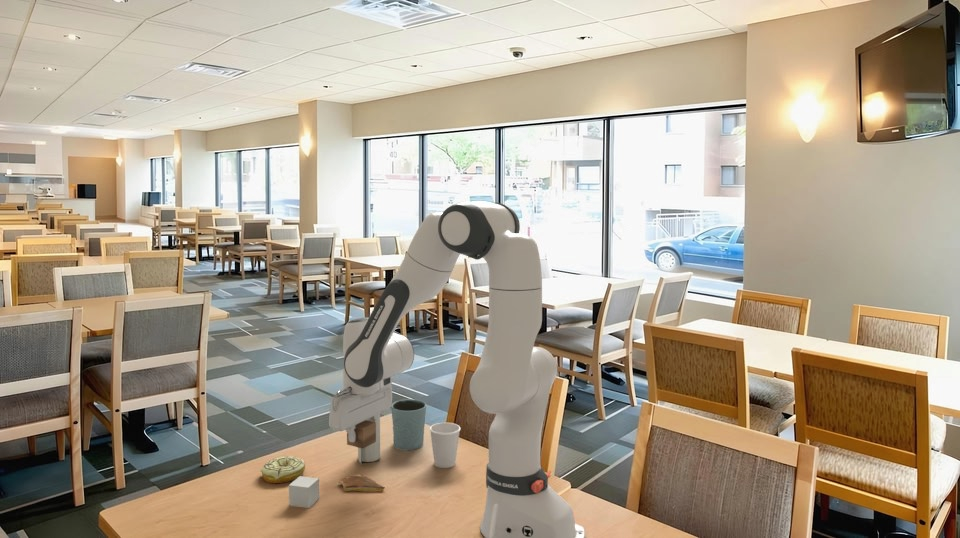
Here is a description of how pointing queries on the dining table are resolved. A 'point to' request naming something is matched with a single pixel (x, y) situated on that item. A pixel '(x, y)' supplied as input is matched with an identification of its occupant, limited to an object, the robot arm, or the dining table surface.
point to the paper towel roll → (371, 447)
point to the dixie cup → (445, 443)
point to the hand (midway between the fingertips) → (361, 436)
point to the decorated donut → (283, 469)
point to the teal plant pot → (408, 423)
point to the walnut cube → (364, 434)
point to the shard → (360, 484)
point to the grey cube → (304, 492)
